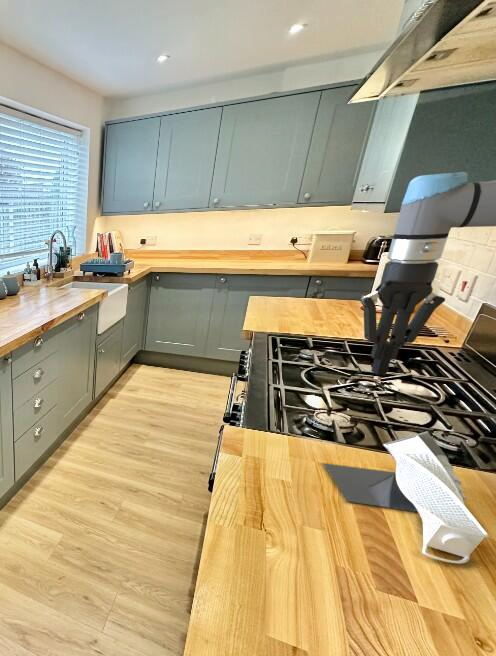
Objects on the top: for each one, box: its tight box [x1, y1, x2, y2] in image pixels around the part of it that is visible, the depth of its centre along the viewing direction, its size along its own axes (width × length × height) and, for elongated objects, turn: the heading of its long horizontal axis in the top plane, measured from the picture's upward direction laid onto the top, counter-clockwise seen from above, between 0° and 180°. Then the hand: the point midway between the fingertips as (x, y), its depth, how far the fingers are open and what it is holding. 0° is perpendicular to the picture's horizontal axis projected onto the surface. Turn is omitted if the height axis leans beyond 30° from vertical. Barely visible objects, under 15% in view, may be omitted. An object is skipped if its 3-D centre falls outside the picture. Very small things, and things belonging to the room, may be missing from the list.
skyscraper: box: [382, 431, 489, 564], centre depth 72 cm, size 8×8×28 cm
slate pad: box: [323, 463, 419, 514], centre depth 81 cm, size 13×13×1 cm
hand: (378, 372), depth 90 cm, fingers closed
